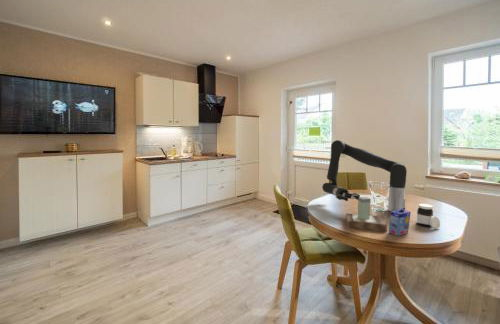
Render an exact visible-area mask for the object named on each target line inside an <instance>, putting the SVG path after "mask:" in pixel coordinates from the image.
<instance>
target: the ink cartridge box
mask: <svg viewBox="0 0 500 324" xmlns="http://www.w3.org/2000/svg"><path fill="white" fill-rule="evenodd" d="M389 215H390V216H389V226H388V233H389V234H391V235H394V236H396V237H398V236H402V235H406V234H409V228H410V220H411V211H410V210H407V209H406V207H405V208H402V209H399V210H395V211H391V212H390V213H389Z"/></svg>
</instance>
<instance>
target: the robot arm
mask: <svg viewBox="0 0 500 324" xmlns="http://www.w3.org/2000/svg"><path fill="white" fill-rule="evenodd" d="M342 154H343V155H345V156H349V157H350V158H352V159H354V160H355V161H358V162H359V163H362V164H364V165H367V166H369V167H370V166H371V167H374V168H377V169H379V168H380V169H381V170H384V171H387V172H388V173H389V174H390V175H389V187H388V188H389V189H388V201H387V211H388V212H390V213H391V211H395V210H399V209H402V208H405V209H406V198H405V193H406V182H407V167H406V166H405V164H404V163H401V162H397V161H394V160H391V159H388V158H384V157H383V156H381V155H378V154H376V153H375V152H371V151H369V150H366V149H363V148H358V147H354V146H352V145H349V144H347V143H346V142H343V141H342V140H337V139H336V140H334V141H332V143H331V146H330V159H329V164H328V170H327V175H326V178H327V180H329V181H331V182H324V183H323V184H322V186H321V187H322V188H321V189H322V190H323V192H324V193H326V194H331V195H332V196H335V198H336V199H338V200H339V201H345V202H349V199H350V200H358V199H359V197H361V195H360V194H359V193H356V192H353V193H351V192H350V191H349V190H348V189H346V188H344V187H341V186H339V185H338V173H339V164H340V160H341V159H340V157H341V155H342Z"/></svg>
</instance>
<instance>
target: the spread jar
mask: <svg viewBox="0 0 500 324" xmlns="http://www.w3.org/2000/svg"><path fill="white" fill-rule="evenodd" d="M433 208H434V206H433V205H431V204H428V203H419V204H418V208H417V211H416V224H417V225H419V226H422V227H427V228H428V227H429V228H432V229H434V230H438V229H440V228H441V222H440V219H439V217H437V216H434V210H433Z"/></svg>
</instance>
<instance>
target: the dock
mask: <svg viewBox="0 0 500 324" xmlns="http://www.w3.org/2000/svg"><path fill="white" fill-rule="evenodd" d="M345 222H346V226H347V229H356V230H363V231H364V230H366V231H373V232H374V231H375V232H376V231H377V232H387V230H388V224H387V223H386V220H385V219H384V218H383V216H381V215H373V214H372V215H371V214H370V219H360V218H358V213H357V214H356V213H347V212H346V214H345Z"/></svg>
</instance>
